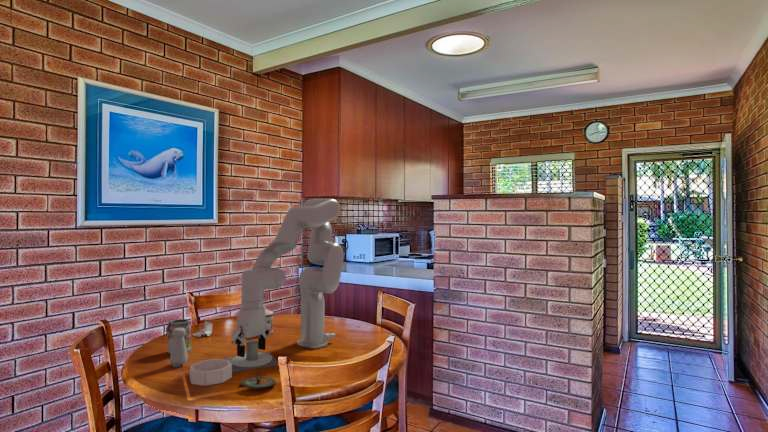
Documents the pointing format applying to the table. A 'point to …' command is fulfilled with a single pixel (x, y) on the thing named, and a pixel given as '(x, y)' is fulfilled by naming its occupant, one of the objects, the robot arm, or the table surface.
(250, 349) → the cover
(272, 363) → the mat
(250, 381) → the lid
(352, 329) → the table surface
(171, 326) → the grey jar
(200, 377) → the bowl
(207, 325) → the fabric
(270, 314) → the teacup with lid
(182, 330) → the salt shaker
